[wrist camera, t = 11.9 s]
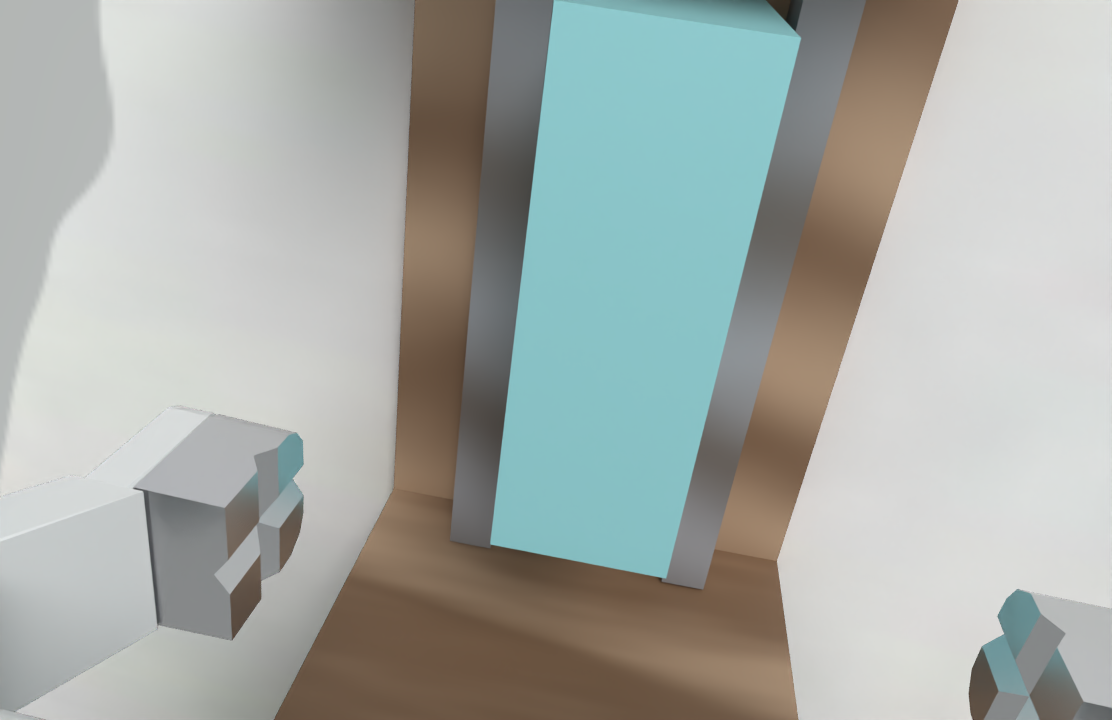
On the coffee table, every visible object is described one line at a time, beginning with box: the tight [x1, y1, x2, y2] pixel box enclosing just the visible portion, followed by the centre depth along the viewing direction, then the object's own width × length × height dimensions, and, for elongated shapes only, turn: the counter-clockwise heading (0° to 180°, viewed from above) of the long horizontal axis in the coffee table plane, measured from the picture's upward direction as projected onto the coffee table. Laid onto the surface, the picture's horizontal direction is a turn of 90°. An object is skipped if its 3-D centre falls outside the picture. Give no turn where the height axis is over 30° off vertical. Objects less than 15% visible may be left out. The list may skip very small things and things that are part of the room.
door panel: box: [490, 0, 801, 578], centre depth 18 cm, size 10×4×8 cm, turn 173°
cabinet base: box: [274, 0, 958, 720], centre depth 17 cm, size 24×12×11 cm, turn 173°
